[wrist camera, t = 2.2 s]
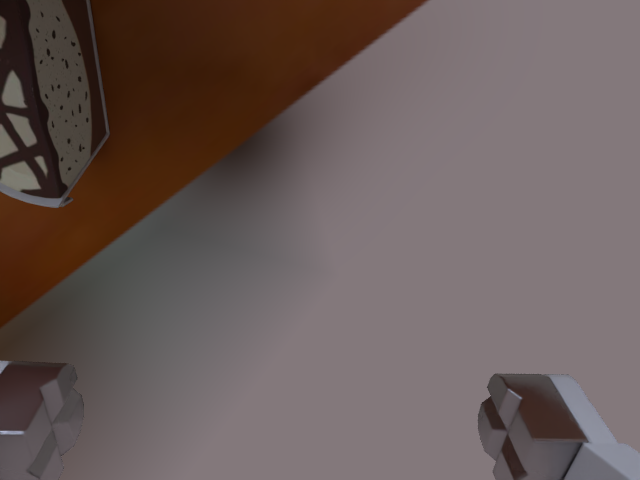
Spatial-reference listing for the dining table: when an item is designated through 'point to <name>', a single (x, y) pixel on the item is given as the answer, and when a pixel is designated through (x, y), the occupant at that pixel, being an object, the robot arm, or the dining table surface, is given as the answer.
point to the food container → (48, 98)
